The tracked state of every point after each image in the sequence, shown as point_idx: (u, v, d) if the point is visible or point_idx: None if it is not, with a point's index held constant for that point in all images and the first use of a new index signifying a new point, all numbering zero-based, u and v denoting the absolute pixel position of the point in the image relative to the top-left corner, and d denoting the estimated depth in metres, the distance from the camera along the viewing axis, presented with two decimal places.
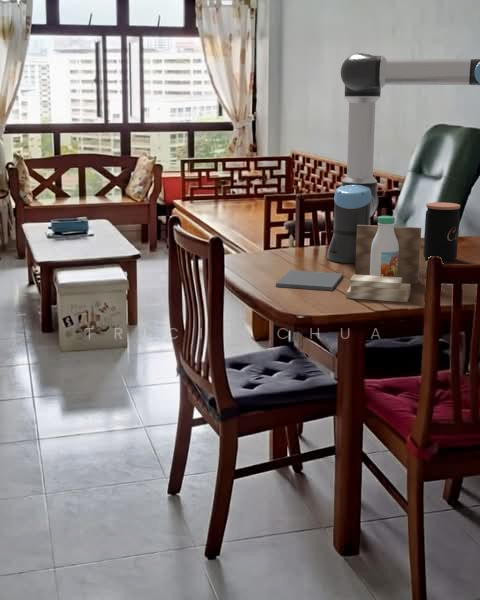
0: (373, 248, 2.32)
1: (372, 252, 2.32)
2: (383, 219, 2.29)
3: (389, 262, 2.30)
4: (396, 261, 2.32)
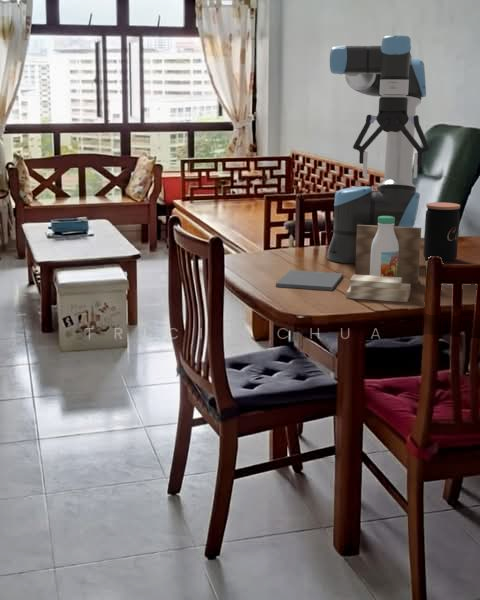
0: (373, 248, 2.32)
1: (372, 252, 2.32)
2: (383, 219, 2.29)
3: (389, 262, 2.30)
4: (396, 261, 2.32)
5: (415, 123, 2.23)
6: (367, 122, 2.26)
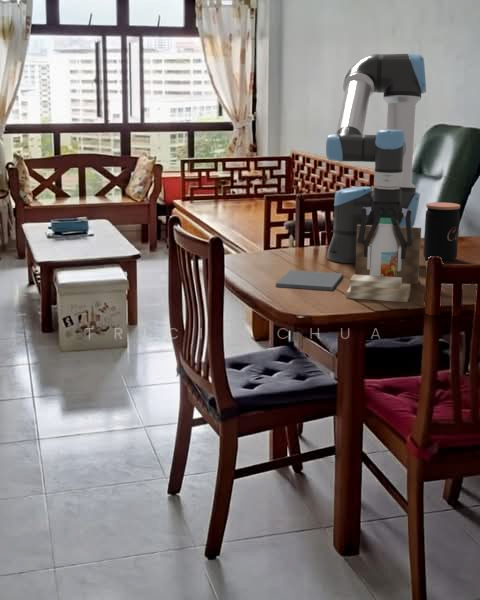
0: (373, 248, 2.32)
1: (372, 252, 2.32)
2: (383, 219, 2.29)
3: (389, 262, 2.30)
4: (396, 261, 2.32)
5: (407, 217, 2.28)
6: (364, 215, 2.32)
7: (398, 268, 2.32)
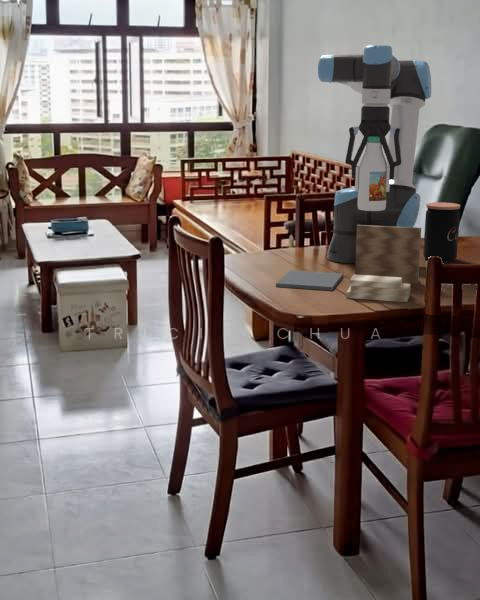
0: (361, 168, 2.28)
1: (360, 172, 2.28)
2: (371, 138, 2.25)
3: (378, 181, 2.27)
4: (385, 181, 2.28)
5: (395, 135, 2.25)
6: (351, 135, 2.27)
7: (387, 188, 2.29)
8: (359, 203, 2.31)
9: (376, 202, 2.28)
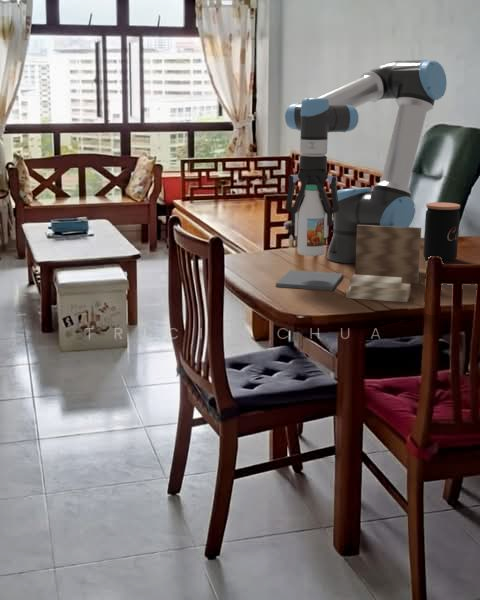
0: (300, 215, 2.36)
1: (299, 219, 2.37)
2: (309, 186, 2.34)
3: (315, 228, 2.35)
4: (323, 227, 2.36)
5: (332, 184, 2.33)
6: (290, 182, 2.36)
7: (324, 234, 2.37)
8: (298, 248, 2.39)
9: (314, 248, 2.36)
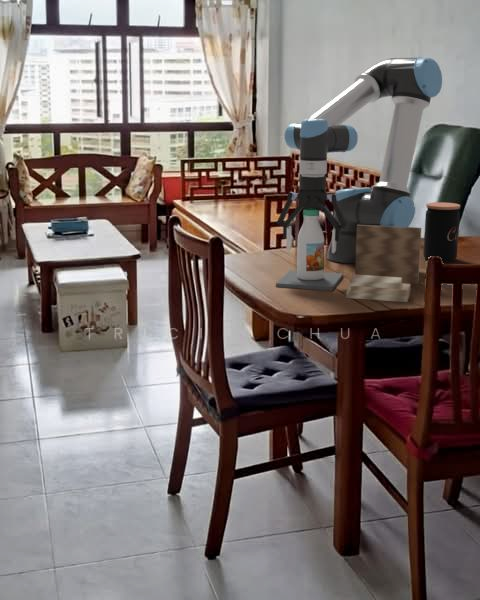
0: (299, 240, 2.38)
1: (298, 244, 2.39)
2: (307, 211, 2.36)
3: (314, 253, 2.37)
4: (322, 252, 2.38)
5: (333, 201, 2.34)
6: (289, 199, 2.37)
7: (332, 250, 2.37)
8: (298, 272, 2.41)
9: (314, 272, 2.38)
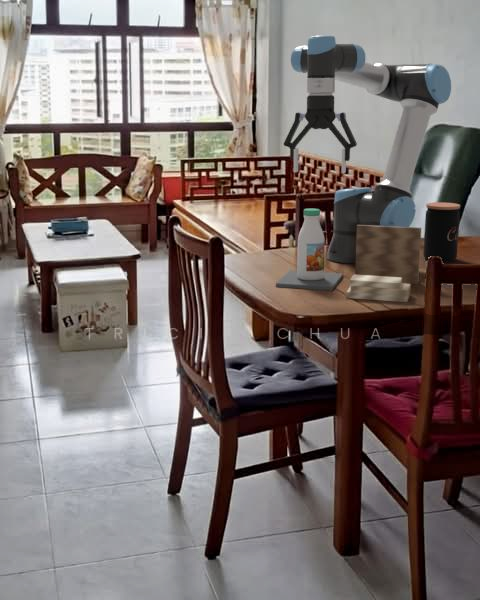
0: (299, 240, 2.38)
1: (298, 244, 2.39)
2: (308, 211, 2.36)
3: (315, 253, 2.37)
4: (322, 252, 2.38)
5: (341, 120, 2.30)
6: (296, 120, 2.33)
7: (342, 170, 2.33)
8: (298, 272, 2.41)
9: (314, 272, 2.38)
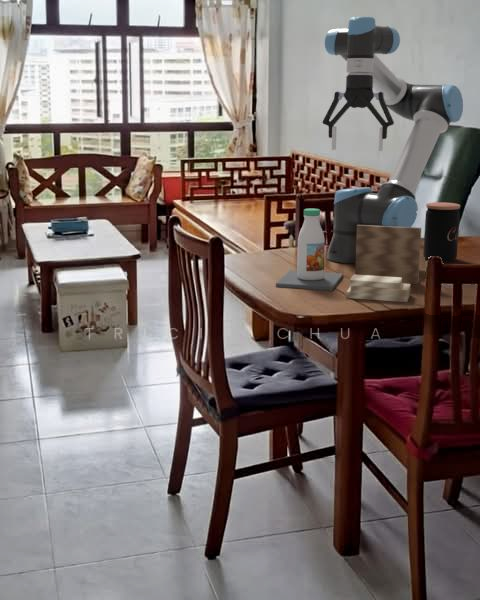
0: (299, 240, 2.38)
1: (298, 244, 2.39)
2: (308, 211, 2.36)
3: (315, 253, 2.37)
4: (322, 252, 2.38)
5: (380, 99, 2.38)
6: (335, 98, 2.41)
7: (379, 148, 2.41)
8: (298, 272, 2.41)
9: (314, 272, 2.38)
